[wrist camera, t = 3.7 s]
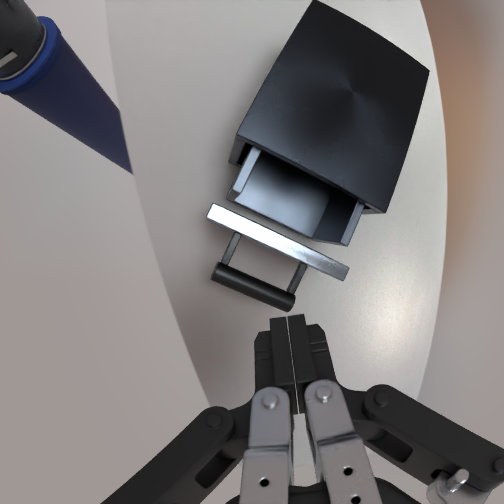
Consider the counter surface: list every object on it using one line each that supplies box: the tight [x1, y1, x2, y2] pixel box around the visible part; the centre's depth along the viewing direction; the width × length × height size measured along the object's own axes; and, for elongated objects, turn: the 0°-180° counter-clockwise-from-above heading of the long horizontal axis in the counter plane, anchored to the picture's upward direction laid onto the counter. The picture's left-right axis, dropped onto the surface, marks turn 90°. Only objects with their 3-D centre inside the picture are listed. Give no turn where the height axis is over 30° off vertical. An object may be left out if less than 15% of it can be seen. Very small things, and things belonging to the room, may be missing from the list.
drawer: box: [206, 145, 365, 312], centre depth 27 cm, size 19×12×8 cm, turn 155°
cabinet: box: [228, 0, 430, 214], centre depth 27 cm, size 16×13×10 cm
